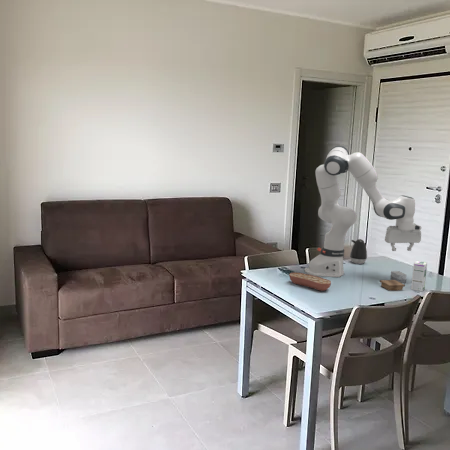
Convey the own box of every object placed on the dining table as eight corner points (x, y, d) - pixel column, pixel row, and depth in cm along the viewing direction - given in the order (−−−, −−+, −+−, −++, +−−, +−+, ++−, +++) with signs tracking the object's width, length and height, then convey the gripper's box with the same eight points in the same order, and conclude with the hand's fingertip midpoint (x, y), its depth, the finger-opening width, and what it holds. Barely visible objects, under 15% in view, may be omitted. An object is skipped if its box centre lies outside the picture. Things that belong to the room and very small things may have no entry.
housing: (397, 283, 271) (398, 274, 270) (390, 280, 277) (391, 271, 276) (405, 283, 272) (406, 274, 271) (398, 279, 279) (399, 271, 278)
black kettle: (348, 260, 317) (350, 236, 315) (364, 261, 317) (367, 238, 314) (350, 264, 307) (352, 240, 305) (367, 265, 307) (370, 241, 304)
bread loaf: (285, 283, 260) (286, 274, 259) (295, 280, 267) (296, 271, 266) (324, 294, 245) (325, 284, 244) (334, 290, 253) (335, 280, 252)
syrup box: (422, 291, 258) (425, 264, 255) (410, 289, 261) (413, 262, 258) (424, 289, 263) (427, 262, 260) (412, 286, 266) (416, 260, 263)
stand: (388, 291, 256) (389, 285, 255) (379, 285, 264) (379, 280, 264) (404, 290, 258) (404, 284, 258) (394, 285, 267) (394, 279, 266)
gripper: (390, 226, 263) (387, 252, 266) (424, 226, 268) (421, 251, 271) (383, 224, 269) (381, 249, 272) (416, 224, 274) (414, 249, 277)
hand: (401, 250), depth 271 cm, fingers open, 8 cm apart
